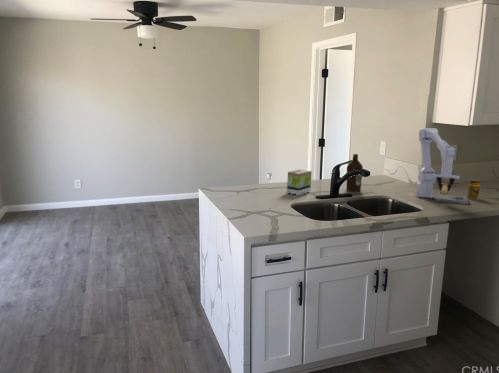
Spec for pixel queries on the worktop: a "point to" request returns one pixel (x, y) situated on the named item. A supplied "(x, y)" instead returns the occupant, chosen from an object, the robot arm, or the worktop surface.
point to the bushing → (444, 188)
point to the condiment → (473, 189)
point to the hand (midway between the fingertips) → (444, 190)
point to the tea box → (299, 182)
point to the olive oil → (355, 181)
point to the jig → (452, 199)
